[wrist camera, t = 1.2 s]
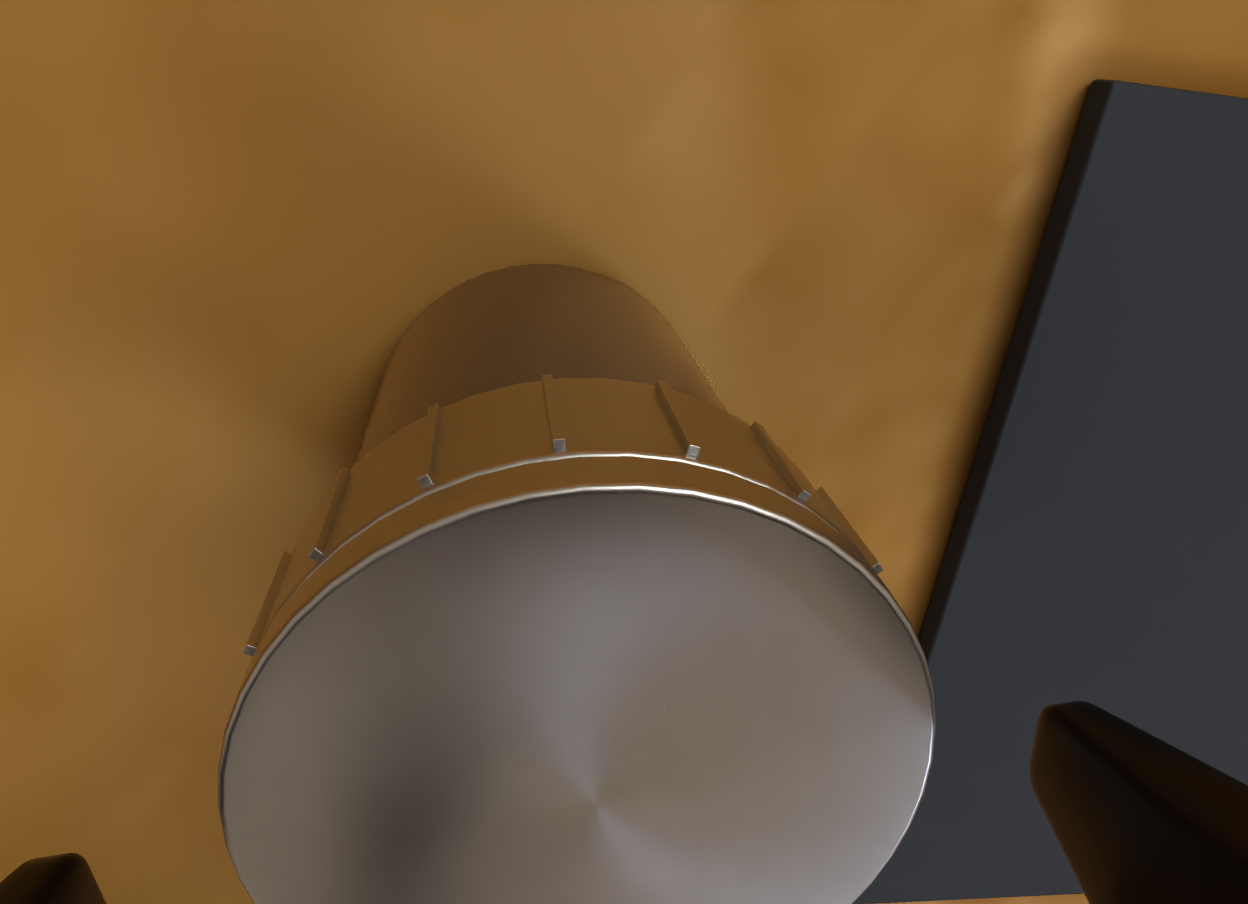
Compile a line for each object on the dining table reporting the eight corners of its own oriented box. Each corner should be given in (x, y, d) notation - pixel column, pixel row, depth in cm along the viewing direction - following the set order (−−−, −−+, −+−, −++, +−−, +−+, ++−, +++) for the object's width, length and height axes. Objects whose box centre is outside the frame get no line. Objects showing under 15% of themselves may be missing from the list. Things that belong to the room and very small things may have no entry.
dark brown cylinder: (675, 561, 18) (810, 936, 10) (378, 554, 17) (288, 963, 9) (721, 277, 16) (942, 496, 8) (379, 248, 15) (257, 469, 7)
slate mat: (1285, 866, 26) (1302, 883, 25) (841, 885, 23) (849, 906, 23) (1706, 162, 18) (1745, 166, 17) (1091, 79, 15) (1112, 80, 15)
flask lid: (791, 835, 12) (858, 1011, 10) (284, 852, 11) (232, 1055, 9) (909, 392, 10) (1038, 496, 7) (254, 349, 8) (165, 461, 6)
